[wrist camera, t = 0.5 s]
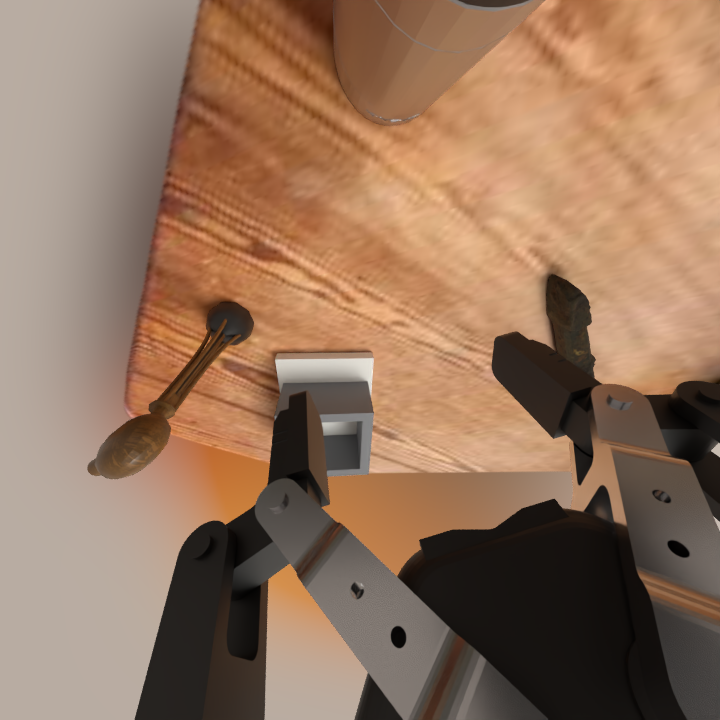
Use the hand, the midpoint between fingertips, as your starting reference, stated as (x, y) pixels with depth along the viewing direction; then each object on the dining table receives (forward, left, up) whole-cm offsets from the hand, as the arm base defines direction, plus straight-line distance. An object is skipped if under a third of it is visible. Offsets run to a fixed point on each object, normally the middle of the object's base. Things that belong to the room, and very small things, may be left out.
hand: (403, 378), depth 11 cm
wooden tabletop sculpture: (+7, -15, -21) cm, 27 cm away
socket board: (+20, -4, -21) cm, 29 cm away
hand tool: (+9, +27, -21) cm, 35 cm away
